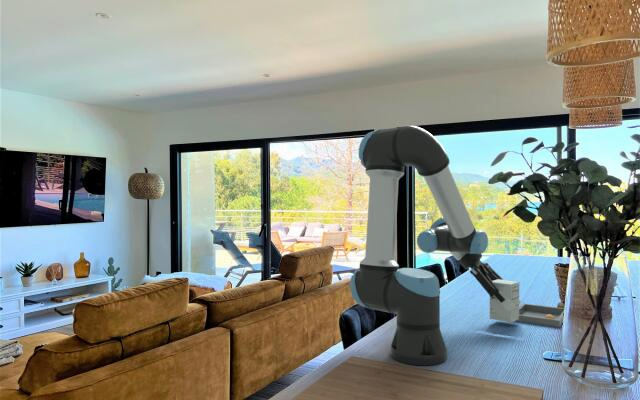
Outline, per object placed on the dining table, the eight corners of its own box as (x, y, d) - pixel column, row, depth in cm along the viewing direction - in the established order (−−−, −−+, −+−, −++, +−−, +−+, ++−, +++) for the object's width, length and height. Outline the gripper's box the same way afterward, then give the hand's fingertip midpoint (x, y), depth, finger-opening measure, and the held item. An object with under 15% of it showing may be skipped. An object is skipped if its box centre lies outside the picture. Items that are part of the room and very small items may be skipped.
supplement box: (488, 319, 151) (488, 281, 151) (498, 315, 156) (498, 278, 156) (511, 323, 146) (511, 284, 146) (519, 319, 151) (519, 281, 151)
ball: (553, 325, 148) (553, 316, 148) (543, 323, 150) (543, 314, 150) (555, 323, 151) (555, 314, 151) (545, 321, 152) (545, 312, 152)
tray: (559, 329, 146) (559, 320, 146) (510, 322, 155) (510, 313, 155) (568, 317, 160) (568, 308, 160) (523, 311, 169) (523, 303, 169)
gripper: (463, 249, 149) (515, 305, 139) (483, 244, 165) (531, 294, 156) (448, 264, 152) (497, 320, 142) (468, 258, 168) (514, 307, 159)
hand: (515, 306), depth 149 cm, fingers closed on supplement box, 8 cm apart
